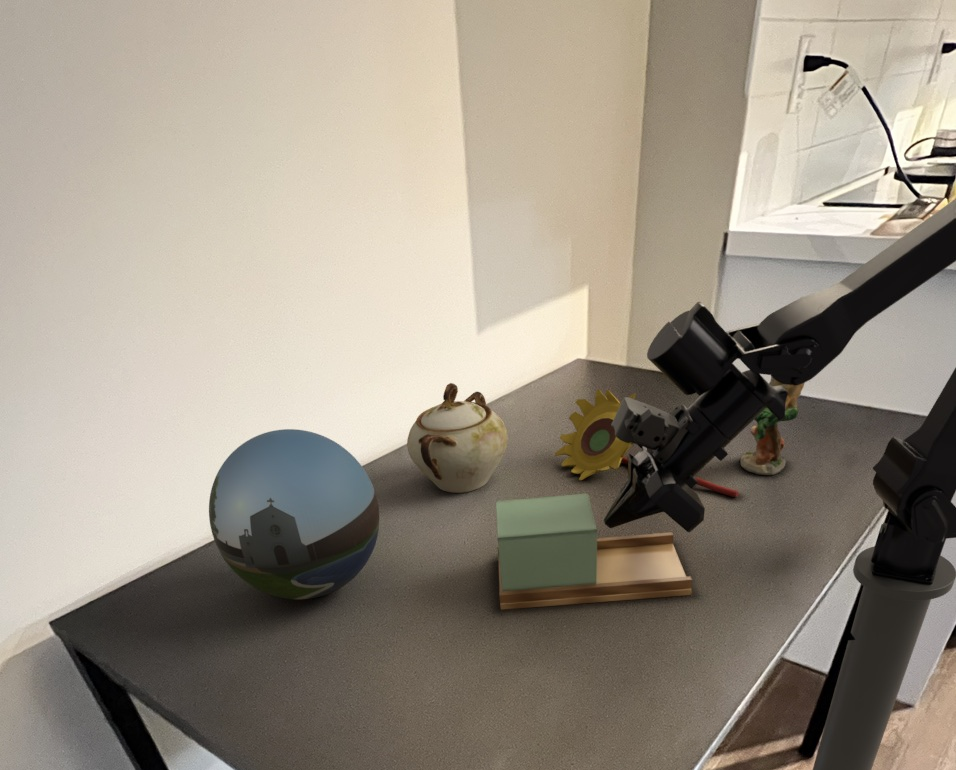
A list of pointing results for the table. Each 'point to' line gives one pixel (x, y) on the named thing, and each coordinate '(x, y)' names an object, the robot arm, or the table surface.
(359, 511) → the decorative sphere
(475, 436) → the sugar bowl
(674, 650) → the table surface
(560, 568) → the cover
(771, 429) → the figurine
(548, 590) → the dock
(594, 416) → the decorative flower
